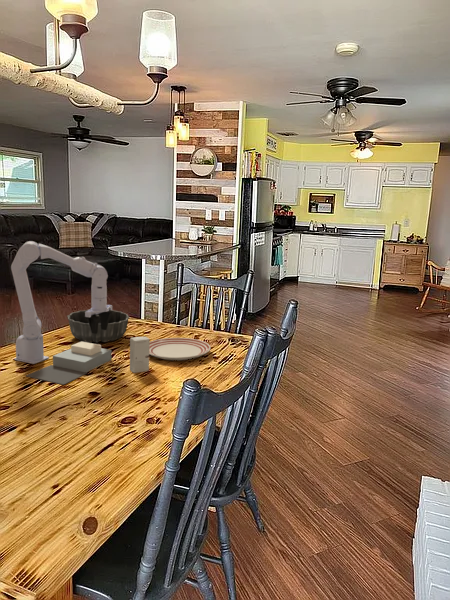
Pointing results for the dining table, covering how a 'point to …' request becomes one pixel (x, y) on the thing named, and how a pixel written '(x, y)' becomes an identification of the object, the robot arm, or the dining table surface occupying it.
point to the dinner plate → (178, 348)
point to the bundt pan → (83, 330)
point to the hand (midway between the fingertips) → (99, 331)
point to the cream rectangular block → (86, 348)
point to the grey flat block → (81, 360)
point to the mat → (56, 374)
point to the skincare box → (139, 354)
